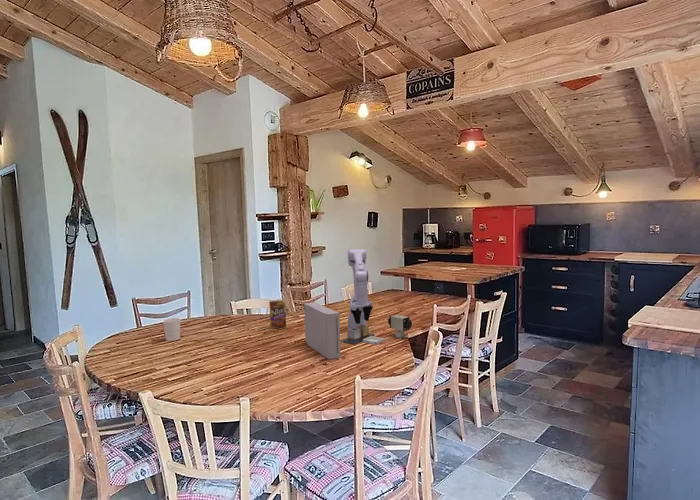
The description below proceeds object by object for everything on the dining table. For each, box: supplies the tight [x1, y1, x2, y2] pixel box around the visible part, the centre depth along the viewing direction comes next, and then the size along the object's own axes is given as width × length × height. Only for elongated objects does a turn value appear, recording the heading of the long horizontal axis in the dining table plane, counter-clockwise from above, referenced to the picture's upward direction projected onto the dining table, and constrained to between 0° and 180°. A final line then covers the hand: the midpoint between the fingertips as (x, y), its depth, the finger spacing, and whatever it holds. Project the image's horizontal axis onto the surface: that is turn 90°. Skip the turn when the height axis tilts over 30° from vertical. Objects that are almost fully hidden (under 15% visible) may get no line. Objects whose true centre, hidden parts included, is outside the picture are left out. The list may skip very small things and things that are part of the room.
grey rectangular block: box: [346, 328, 361, 341], centre depth 222 cm, size 4×4×6 cm
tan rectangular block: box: [356, 324, 370, 338], centre depth 227 cm, size 4×4×6 cm
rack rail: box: [342, 333, 375, 346], centre depth 225 cm, size 7×17×2 cm, turn 143°
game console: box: [303, 301, 341, 360], centre depth 209 cm, size 6×27×20 cm, turn 27°
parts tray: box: [361, 335, 386, 346], centre depth 221 cm, size 8×8×2 cm
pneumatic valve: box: [387, 313, 413, 339], centre depth 228 cm, size 6×12×12 cm, turn 46°
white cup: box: [163, 317, 181, 342], centre depth 233 cm, size 8×8×10 cm
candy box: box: [269, 299, 287, 330], centre depth 251 cm, size 9×4×15 cm, turn 98°
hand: (362, 321), depth 227 cm, fingers open, 7 cm apart
